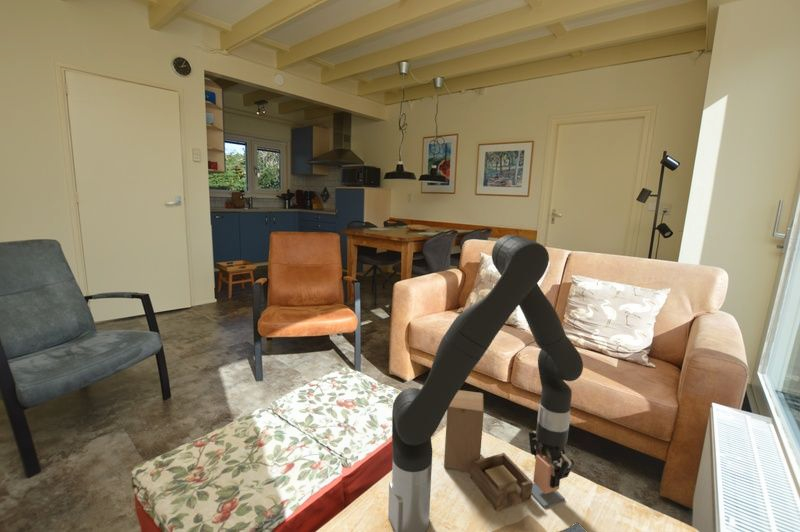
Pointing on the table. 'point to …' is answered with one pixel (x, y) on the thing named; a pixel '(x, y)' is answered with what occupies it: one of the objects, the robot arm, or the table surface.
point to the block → (543, 474)
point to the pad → (546, 496)
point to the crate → (501, 481)
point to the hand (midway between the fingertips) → (546, 479)
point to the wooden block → (464, 430)
